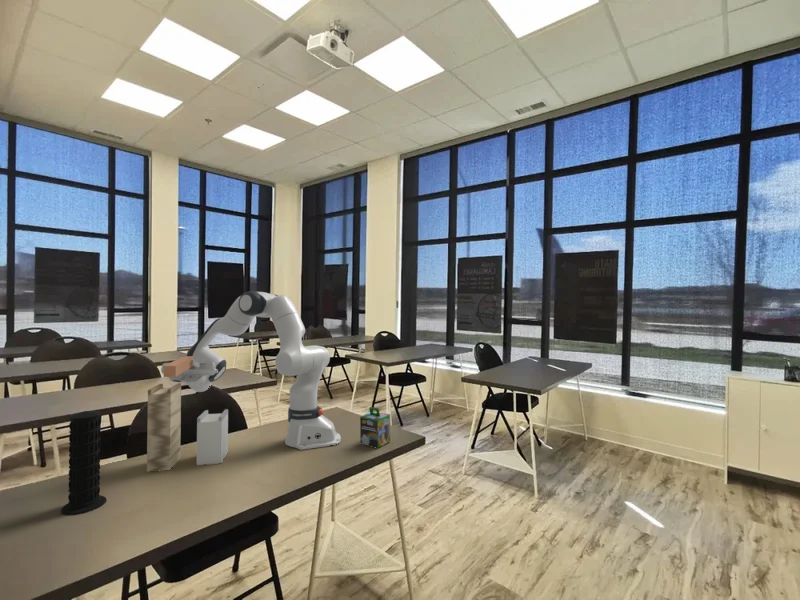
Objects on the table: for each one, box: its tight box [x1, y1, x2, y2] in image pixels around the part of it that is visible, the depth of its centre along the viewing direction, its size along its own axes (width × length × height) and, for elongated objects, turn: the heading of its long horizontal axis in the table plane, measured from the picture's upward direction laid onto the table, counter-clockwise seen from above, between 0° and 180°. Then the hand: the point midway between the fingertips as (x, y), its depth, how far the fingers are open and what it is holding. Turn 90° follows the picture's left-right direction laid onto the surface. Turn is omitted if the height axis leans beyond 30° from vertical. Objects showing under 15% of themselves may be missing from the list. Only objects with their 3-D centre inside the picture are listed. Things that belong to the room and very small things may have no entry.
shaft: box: [163, 355, 194, 378], centre depth 151 cm, size 4×22×4 cm, turn 13°
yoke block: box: [196, 408, 229, 466], centre depth 142 cm, size 8×10×16 cm
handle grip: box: [60, 410, 107, 516], centre depth 109 cm, size 10×26×10 cm
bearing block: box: [146, 382, 182, 472], centre depth 136 cm, size 7×10×28 cm
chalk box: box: [359, 406, 391, 449], centre depth 159 cm, size 9×9×15 cm
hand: (184, 362), depth 157 cm, fingers closed on shaft, 4 cm apart
